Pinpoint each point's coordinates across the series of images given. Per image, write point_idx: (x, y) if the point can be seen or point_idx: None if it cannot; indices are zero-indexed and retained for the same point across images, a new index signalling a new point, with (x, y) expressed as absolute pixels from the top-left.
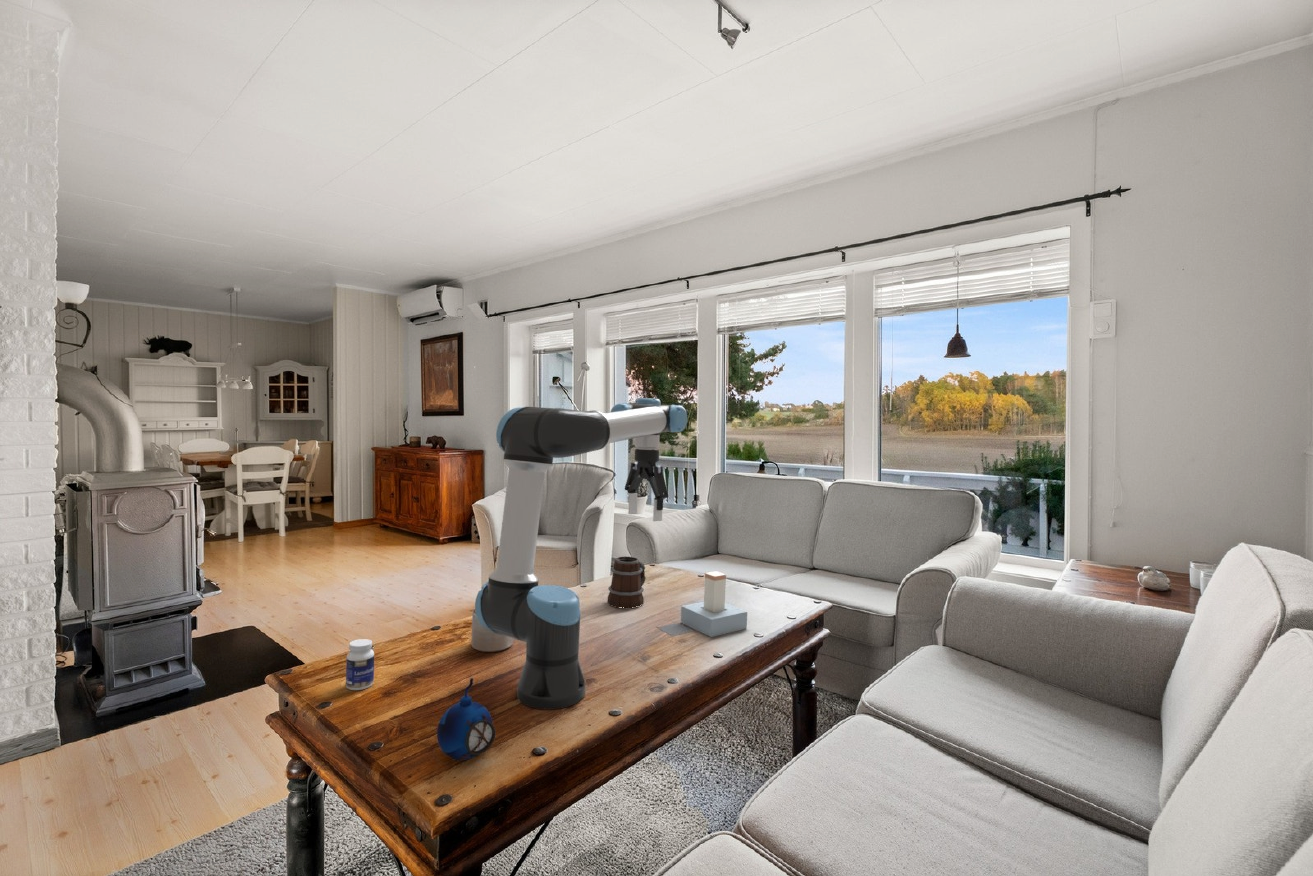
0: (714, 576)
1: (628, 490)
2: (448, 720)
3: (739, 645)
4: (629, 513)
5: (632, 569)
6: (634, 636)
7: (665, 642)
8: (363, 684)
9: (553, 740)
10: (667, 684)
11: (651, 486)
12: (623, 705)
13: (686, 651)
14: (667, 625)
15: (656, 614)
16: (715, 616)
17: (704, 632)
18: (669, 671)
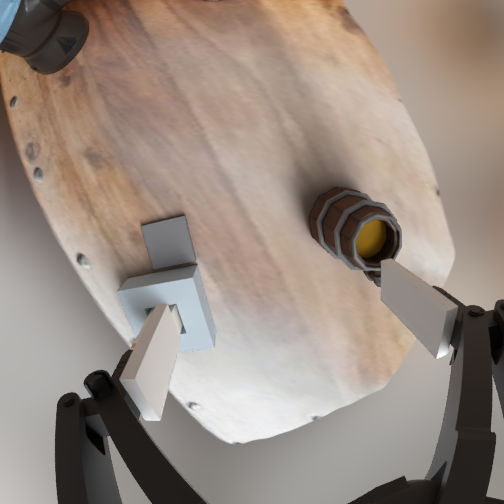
0: (131, 348)
1: (476, 312)
2: None
3: (107, 303)
4: (384, 261)
5: (343, 240)
6: (172, 169)
7: (135, 209)
8: None
9: (8, 55)
10: (33, 165)
11: (157, 459)
12: (18, 110)
13: (99, 225)
14: (187, 238)
15: (264, 249)
16: (129, 304)
17: (138, 278)
18: (55, 178)
